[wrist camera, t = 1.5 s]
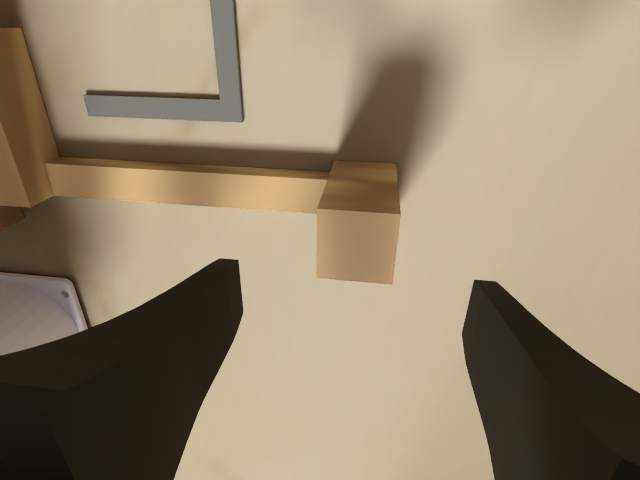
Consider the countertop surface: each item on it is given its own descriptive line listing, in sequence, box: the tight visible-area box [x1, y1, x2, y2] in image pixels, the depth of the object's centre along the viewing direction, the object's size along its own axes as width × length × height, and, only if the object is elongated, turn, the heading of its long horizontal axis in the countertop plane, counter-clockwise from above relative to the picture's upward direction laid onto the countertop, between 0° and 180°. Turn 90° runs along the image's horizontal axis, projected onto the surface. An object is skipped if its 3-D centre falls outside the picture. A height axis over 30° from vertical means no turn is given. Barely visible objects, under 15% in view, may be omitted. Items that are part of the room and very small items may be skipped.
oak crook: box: [0, 28, 401, 284], centre depth 18 cm, size 20×9×6 cm, turn 90°
